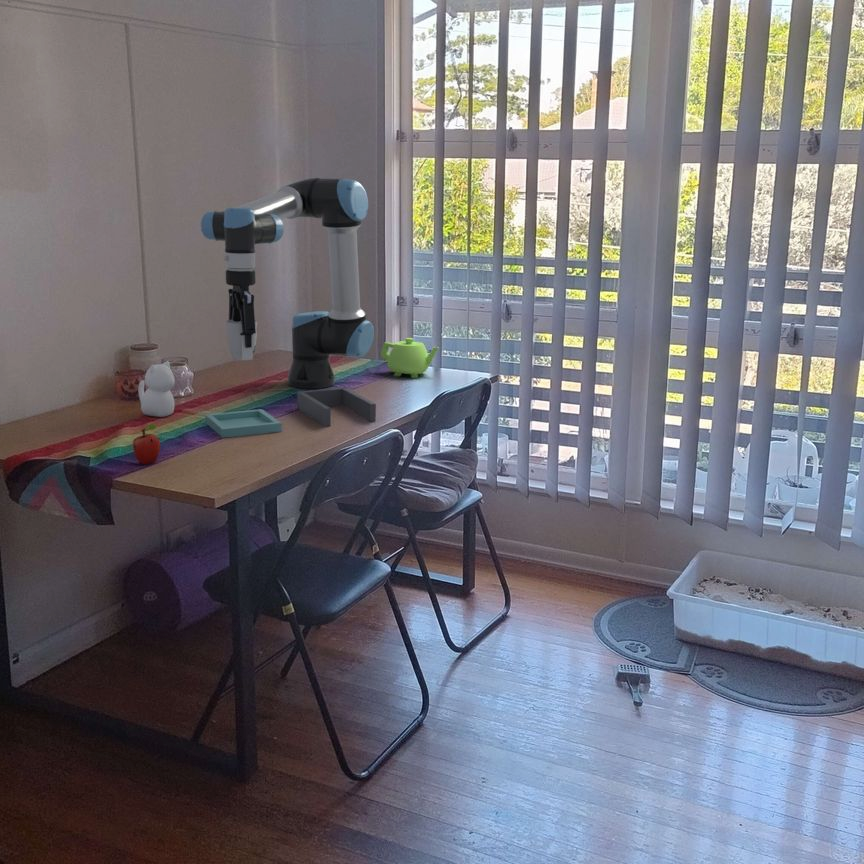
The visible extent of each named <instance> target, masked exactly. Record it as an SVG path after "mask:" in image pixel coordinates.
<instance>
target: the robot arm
mask: <svg viewBox="0 0 864 864" xmlns="http://www.w3.org/2000/svg"><path fill="white" fill-rule="evenodd" d="M367 194H368V193H367V191H366V188H364V186H363V185H362V184H361V183H360V182H358V181H357V180H355V179H348V178H319V177H312V178H306V179H303V180H299V181H295V182H293V183H290V184H287V185H284V186H282V187H280V188H278V190H277V191H276V192H275V193H272V194H270V195H266V196H264V197H261V198H259V199H255V200H253V201H250V202H247V203H243V204H242V205H239V206H236V207H227V208H225V210H223V211H217V210H213V211H207V212H205V213H204V214H203V215H202V216H201V220H200V228H201V233H202V235H203V237H204V238H206V239H208V240H214V241H215V242H217V241H220V242H221V241H223V242H224V247H225V248H224V252H225V255H224V256H223V258H222V259H223V261H225V268H227V269H226V270H225V284H226V285H227V286H232V288H228V320H233V321H235V322H239V321H241V324H242V331H243V333H240V335H241V338H242V360H248V361H251V359H252V360H254V355H253V337H252V335H253V334H254V333H256V330H255V320H256V318H255V295H254V294H251V292H250V288H249V287H250V286H253V285H255V284H256V270H255V268H256V250H255V248H256V246H255V245H260V244H261V245H262V244H272V243H277V242H279V241H280V240H281V239H282V237H283V235H284V232H285V230H284V229H285V228H284V227H285V226H284V223H283V219H284V220H285V219H287V220H288V219H289V220H294V219H296V218H314V219H315V218H316V219H321V223H322V224H321V225H322V226H321V227H322V228H323V229H324V230H326V232H327V237H328V238H327V239H328V255H329V256H328V257H329V273H330V285H331V286H330V287H331V288H330V289H331V302H332V303H331V304H332V306H331V307H332V309H331V311H326V310H322V311H321V310H319V311H310V312H309V311H308V312H302V313H301V312H300V313H297V314H295V315H293V317H292V324H291V331H292V332H291V334H292V335H291V336H292V338H291V340H292V342H291V343H292V345H291V346H292V361H291V365H290V368H289V371H288V374H287V383H288V384H287V385H288V386H290V387H293V388H297V387H299V388H300V389H325V388H329V387H332V386H334V385H335V383H336V381H335V380H336V379H335V374H334V371H333V367H332V364H331V362H330V355H332V356H333V355H334V356H340V357H345V358H346V357H347V358H362V357H364V356H366V355H367V354H368V352H369V351H370V349H371V347H372V346H373V342H374V338H375V337H374V336H375V329H374V328H375V327H374V326H373V323H372V322H371V321H369V320H367V315H366V312H365V310H363V309H362V308H361V294H360V274H359V273H360V272H359V254H358V234H357V233H358V232H357V231H358V229H359V228H360V227H361V226H362V221H363V220H364V219H365V218H366V216H367V214H368V210H369V199H368V195H367ZM299 388H298V389H299Z"/></svg>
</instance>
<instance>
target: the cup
mask: <svg viewBox="0 0 864 864" xmlns="http://www.w3.org/2000/svg"><path fill="white" fill-rule="evenodd" d="M225 328H226V336H227V337H226V338H227V342H228V347H229V352H230V354H231V358H232V360H233V361H237V362H246V361H247V362H248V361H249V360H242V338H241V335H240V333H243V331H242V324H241V321H239V322H235V321H233V320H229V319H227V320H226V321H225ZM255 330H256V333H254V334H253V335H252V337H253V356H254V355H255V352H256V346H257V337H258V320H256V319H255ZM251 360H253V359H251ZM251 360H250V361H251Z"/></svg>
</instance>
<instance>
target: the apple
mask: <svg viewBox="0 0 864 864" xmlns="http://www.w3.org/2000/svg"><path fill="white" fill-rule="evenodd" d="M155 429H157V427H156V425H155V424H154V423H149V424H148V425H147V426H146V427H144V428H141V432H142V435H140V436H136V437H135V438H134V439H133V440H132V449H133V453H134V456H135V458H136V460H137V462H138V463H140V464H141V465H149V464H154V463H155V462H156V461H157V460H158V457H159V455H160V451H161V441H160V438H159V437H158V436H157V435H156V434H153V433H147V434H146V430H150V431H151V430H155Z"/></svg>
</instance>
